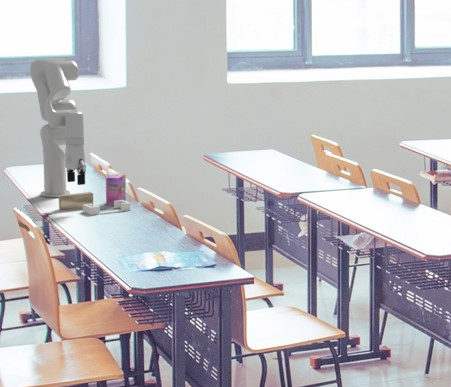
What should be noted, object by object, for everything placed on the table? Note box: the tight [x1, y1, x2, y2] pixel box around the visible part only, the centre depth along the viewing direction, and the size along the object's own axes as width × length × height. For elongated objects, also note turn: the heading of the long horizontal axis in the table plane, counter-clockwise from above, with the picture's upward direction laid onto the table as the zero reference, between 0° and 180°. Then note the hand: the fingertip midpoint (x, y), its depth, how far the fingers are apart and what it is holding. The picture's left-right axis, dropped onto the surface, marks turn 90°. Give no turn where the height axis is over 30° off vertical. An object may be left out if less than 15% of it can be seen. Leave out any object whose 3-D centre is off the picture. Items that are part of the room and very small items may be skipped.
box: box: [105, 172, 127, 206], centre depth 431 cm, size 10×6×12 cm, turn 168°
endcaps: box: [82, 200, 131, 216], centre depth 415 cm, size 8×18×3 cm, turn 123°
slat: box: [58, 191, 94, 211], centre depth 420 cm, size 3×14×6 cm, turn 123°
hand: (76, 183), depth 418 cm, fingers open, 9 cm apart
